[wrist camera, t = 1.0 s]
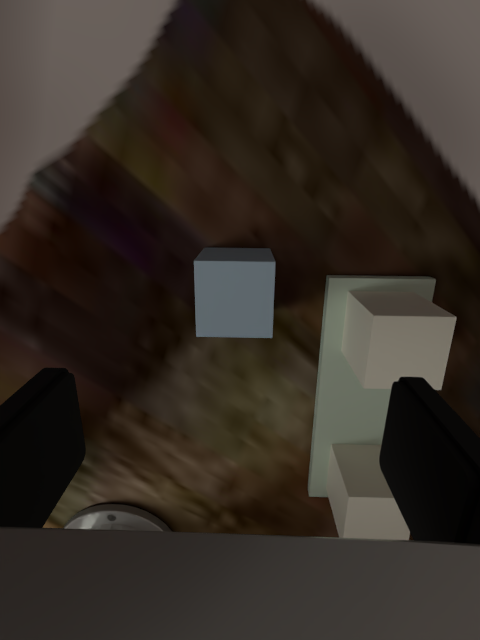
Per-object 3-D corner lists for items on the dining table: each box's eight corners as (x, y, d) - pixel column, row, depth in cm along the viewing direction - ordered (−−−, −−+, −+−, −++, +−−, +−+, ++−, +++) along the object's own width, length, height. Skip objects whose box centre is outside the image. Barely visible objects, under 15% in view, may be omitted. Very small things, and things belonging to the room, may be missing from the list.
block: (267, 310, 30) (272, 337, 24) (206, 309, 30) (196, 336, 24) (269, 248, 28) (275, 261, 22) (204, 247, 28) (193, 260, 22)
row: (390, 490, 35) (423, 559, 28) (307, 488, 35) (321, 556, 29) (429, 276, 28) (485, 301, 22) (326, 275, 28) (350, 299, 22)
